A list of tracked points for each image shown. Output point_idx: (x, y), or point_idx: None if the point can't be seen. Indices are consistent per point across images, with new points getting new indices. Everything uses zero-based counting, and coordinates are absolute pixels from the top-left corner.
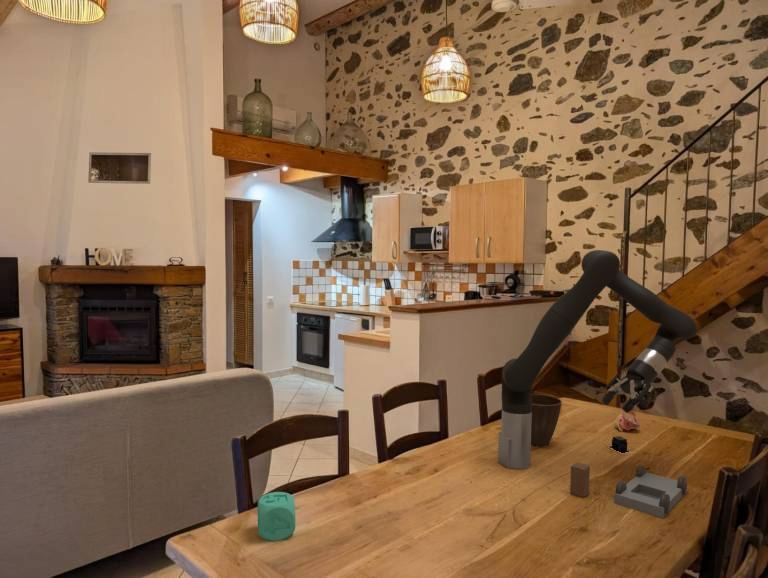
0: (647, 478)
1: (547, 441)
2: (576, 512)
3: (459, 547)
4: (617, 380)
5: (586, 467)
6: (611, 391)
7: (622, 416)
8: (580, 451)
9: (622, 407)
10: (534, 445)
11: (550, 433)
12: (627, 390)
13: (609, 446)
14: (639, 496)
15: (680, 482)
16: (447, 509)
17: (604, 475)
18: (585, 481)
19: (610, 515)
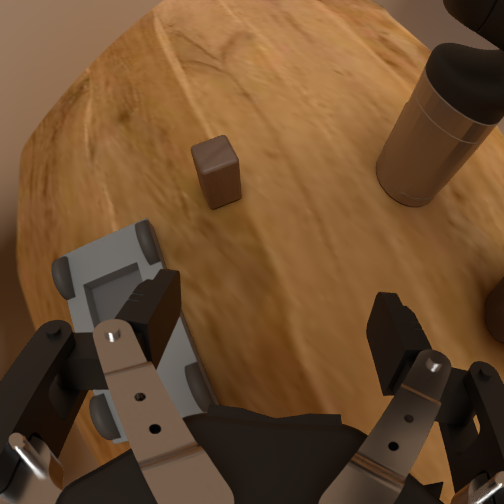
0: (172, 379)
1: (490, 318)
2: (164, 137)
3: (180, 14)
4: (485, 481)
5: (197, 158)
6: (411, 365)
7: None
8: None
9: (177, 271)
10: (491, 292)
11: (501, 318)
12: (231, 408)
13: (431, 490)
14: (111, 259)
15: (93, 400)
16: (260, 24)
17: (283, 333)
18: (196, 170)
19: (124, 181)
